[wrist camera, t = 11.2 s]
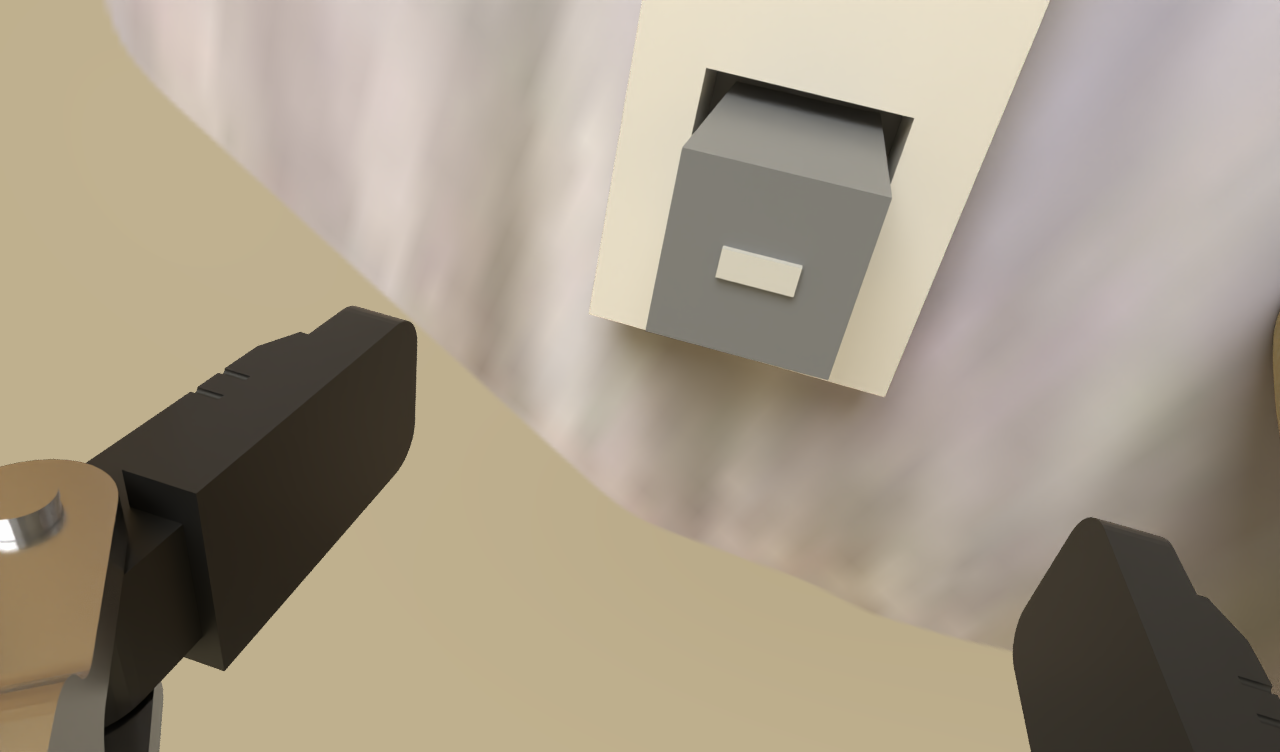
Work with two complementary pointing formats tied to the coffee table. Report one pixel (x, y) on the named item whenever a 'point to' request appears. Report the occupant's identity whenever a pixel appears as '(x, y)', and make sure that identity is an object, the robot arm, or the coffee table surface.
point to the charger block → (772, 228)
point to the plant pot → (1277, 367)
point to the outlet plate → (836, 73)
